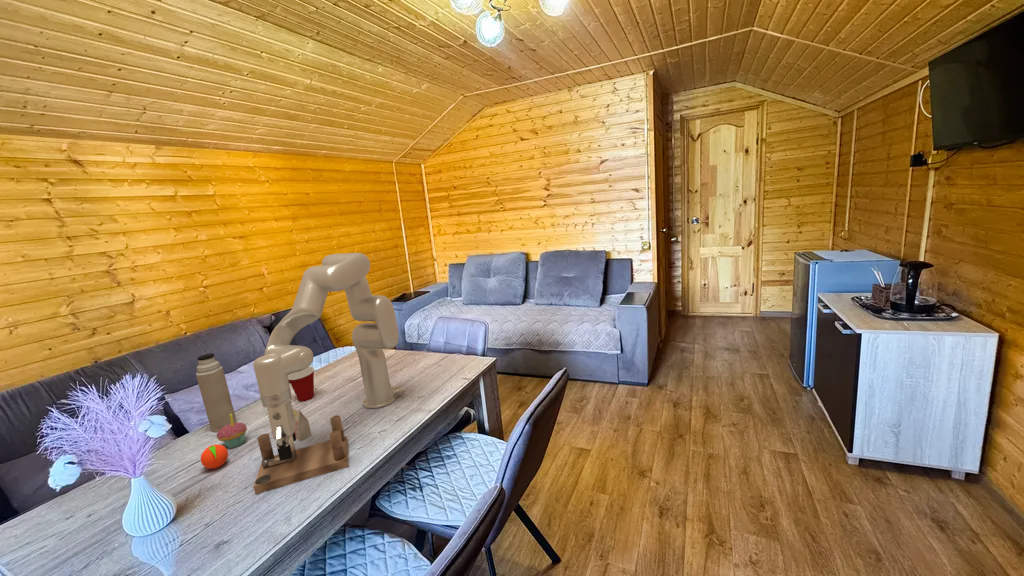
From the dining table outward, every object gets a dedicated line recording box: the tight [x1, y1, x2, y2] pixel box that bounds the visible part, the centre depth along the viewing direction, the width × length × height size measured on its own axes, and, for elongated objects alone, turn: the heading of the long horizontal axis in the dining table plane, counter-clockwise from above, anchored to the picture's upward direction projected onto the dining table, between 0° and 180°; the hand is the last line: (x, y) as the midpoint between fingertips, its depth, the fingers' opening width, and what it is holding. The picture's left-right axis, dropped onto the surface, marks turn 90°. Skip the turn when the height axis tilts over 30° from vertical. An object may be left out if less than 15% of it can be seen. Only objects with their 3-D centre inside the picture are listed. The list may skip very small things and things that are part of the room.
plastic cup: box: [288, 365, 315, 403], centre depth 170 cm, size 11×11×12 cm
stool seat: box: [253, 415, 349, 495], centre depth 123 cm, size 24×14×10 cm, turn 112°
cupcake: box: [216, 414, 248, 449], centre depth 140 cm, size 9×8×12 cm
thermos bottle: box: [195, 352, 238, 433], centre depth 151 cm, size 8×8×28 cm
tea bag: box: [293, 408, 313, 442], centre depth 141 cm, size 4×7×10 cm, turn 56°
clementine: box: [200, 444, 229, 470], centre depth 128 cm, size 8×7×7 cm
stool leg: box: [261, 434, 297, 468], centre depth 122 cm, size 9×3×9 cm, turn 112°
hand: (288, 450), depth 123 cm, fingers open, 9 cm apart
